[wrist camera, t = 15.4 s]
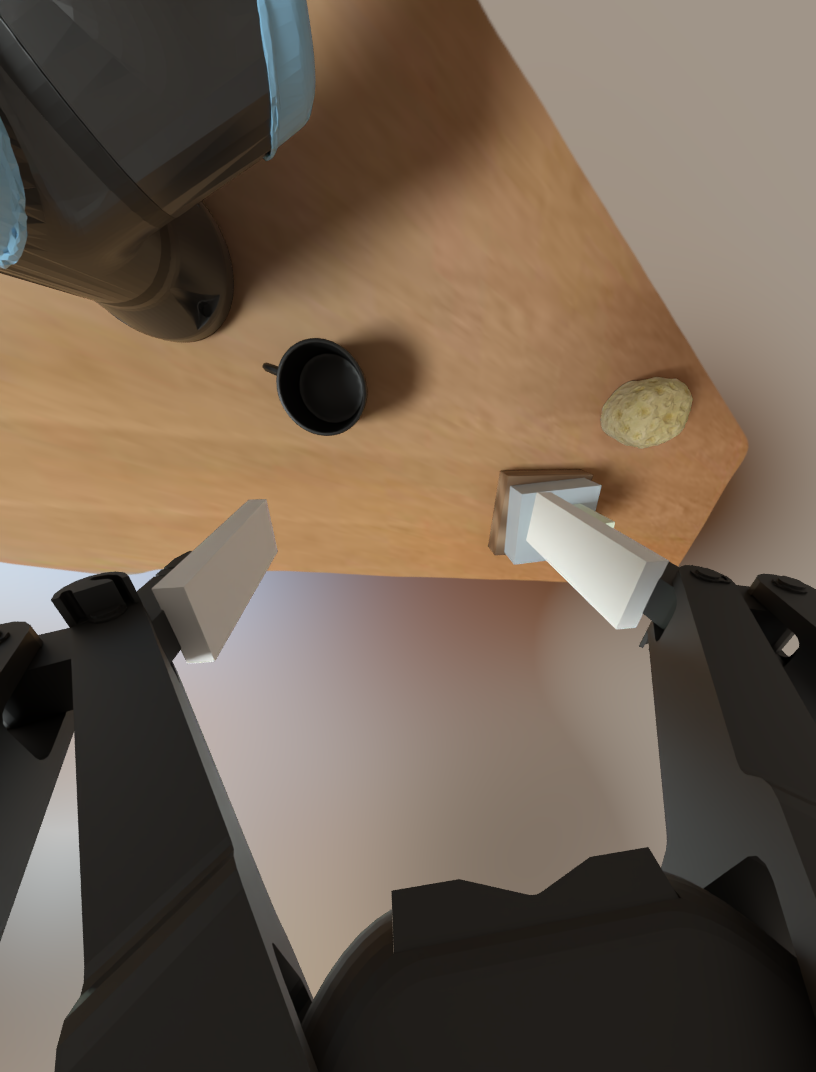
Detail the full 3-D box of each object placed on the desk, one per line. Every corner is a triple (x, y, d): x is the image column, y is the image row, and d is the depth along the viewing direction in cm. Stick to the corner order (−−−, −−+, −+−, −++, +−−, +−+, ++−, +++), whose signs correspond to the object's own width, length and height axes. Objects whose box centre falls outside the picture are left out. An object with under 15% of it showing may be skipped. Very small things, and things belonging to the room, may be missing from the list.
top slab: (510, 485, 45) (522, 494, 42) (583, 477, 46) (601, 485, 42) (504, 552, 51) (514, 564, 47) (570, 543, 51) (584, 555, 48)
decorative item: (581, 421, 49) (609, 468, 44) (618, 365, 40) (657, 416, 36) (634, 413, 49) (667, 458, 45) (682, 355, 40) (728, 405, 36)
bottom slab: (498, 469, 48) (508, 476, 44) (577, 468, 49) (593, 474, 46) (486, 544, 54) (494, 555, 51) (557, 541, 56) (569, 551, 52)
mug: (282, 326, 36) (256, 308, 28) (376, 366, 39) (377, 360, 31) (269, 405, 39) (244, 410, 31) (356, 436, 42) (353, 447, 34)
